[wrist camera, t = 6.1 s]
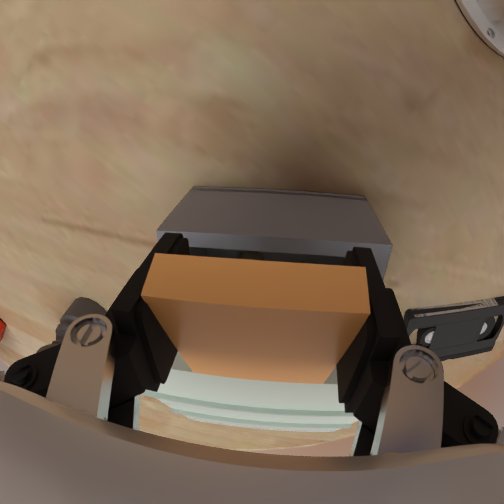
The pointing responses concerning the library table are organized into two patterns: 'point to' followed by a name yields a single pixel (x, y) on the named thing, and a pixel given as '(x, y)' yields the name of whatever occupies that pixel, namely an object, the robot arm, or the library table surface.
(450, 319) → the vhs tape
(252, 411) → the lid
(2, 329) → the file binder
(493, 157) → the library table surface
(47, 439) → the robot arm
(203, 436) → the library table surface
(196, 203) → the tub
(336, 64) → the library table surface
